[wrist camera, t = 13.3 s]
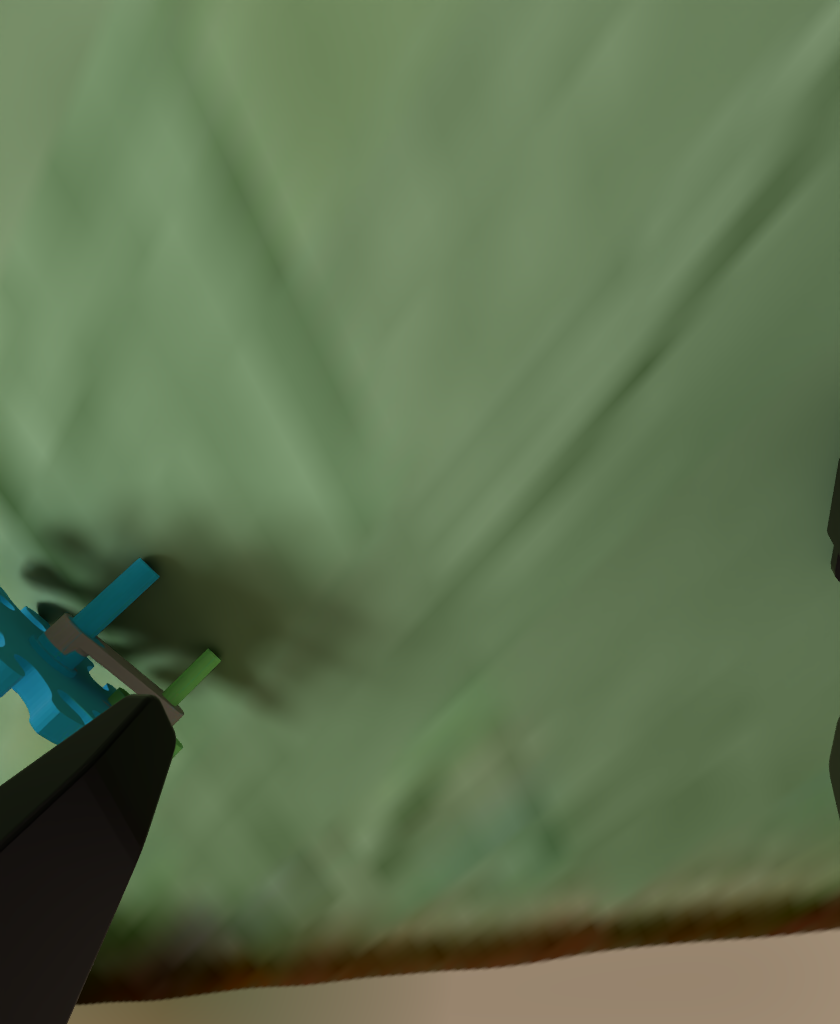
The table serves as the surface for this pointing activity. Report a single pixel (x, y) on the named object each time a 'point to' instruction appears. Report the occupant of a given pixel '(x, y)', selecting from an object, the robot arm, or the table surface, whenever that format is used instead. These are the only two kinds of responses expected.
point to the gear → (81, 661)
